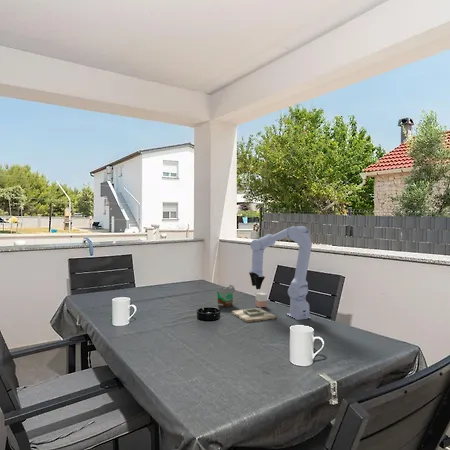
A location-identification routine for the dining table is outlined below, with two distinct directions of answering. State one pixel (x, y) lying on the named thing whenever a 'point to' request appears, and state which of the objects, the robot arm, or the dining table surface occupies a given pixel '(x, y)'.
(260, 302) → the white brown rectangular block
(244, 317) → the board
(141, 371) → the dining table surface
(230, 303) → the food container
